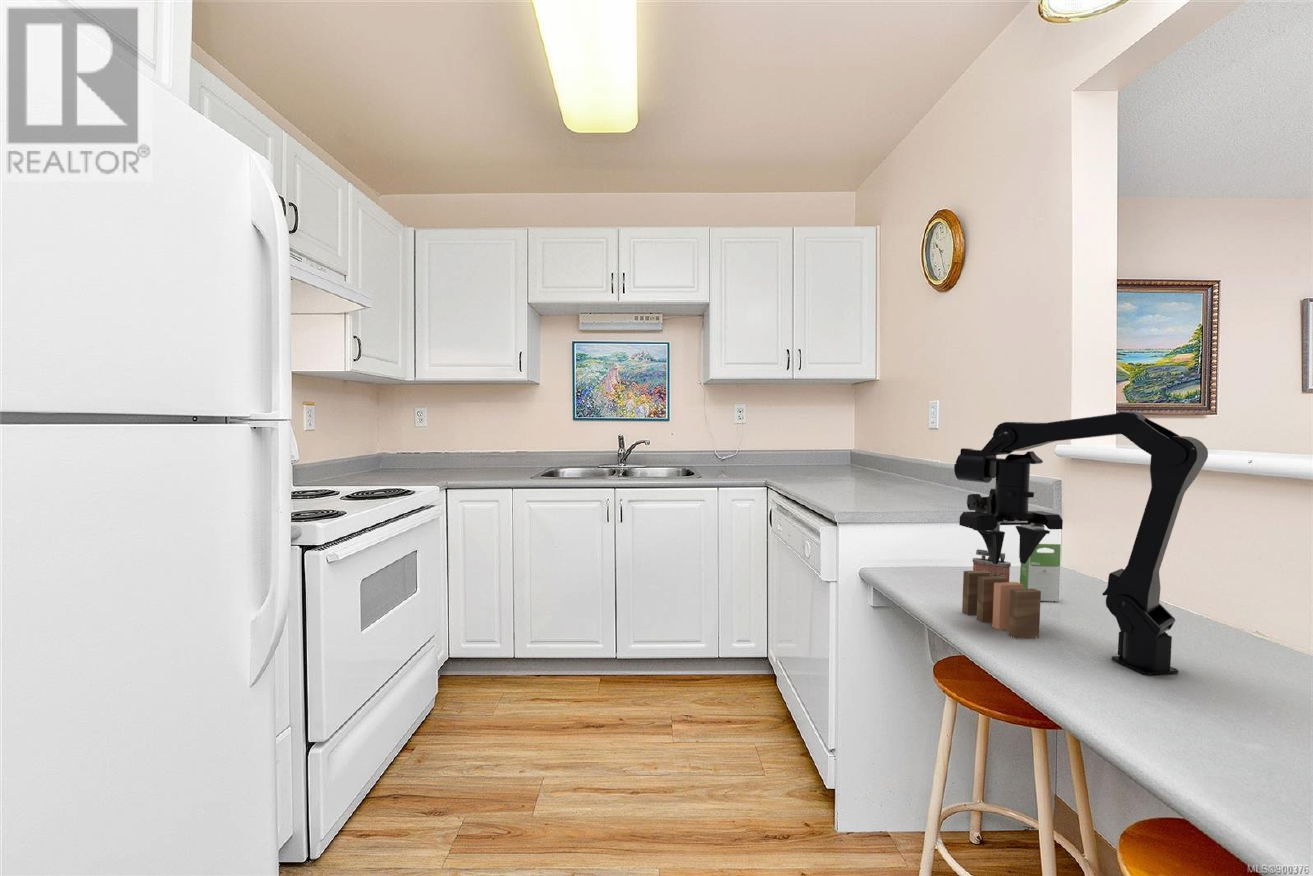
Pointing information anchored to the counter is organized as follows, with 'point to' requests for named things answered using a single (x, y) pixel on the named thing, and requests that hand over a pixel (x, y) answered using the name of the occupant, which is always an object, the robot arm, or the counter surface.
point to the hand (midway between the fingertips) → (1008, 563)
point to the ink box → (1043, 572)
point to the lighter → (992, 565)
